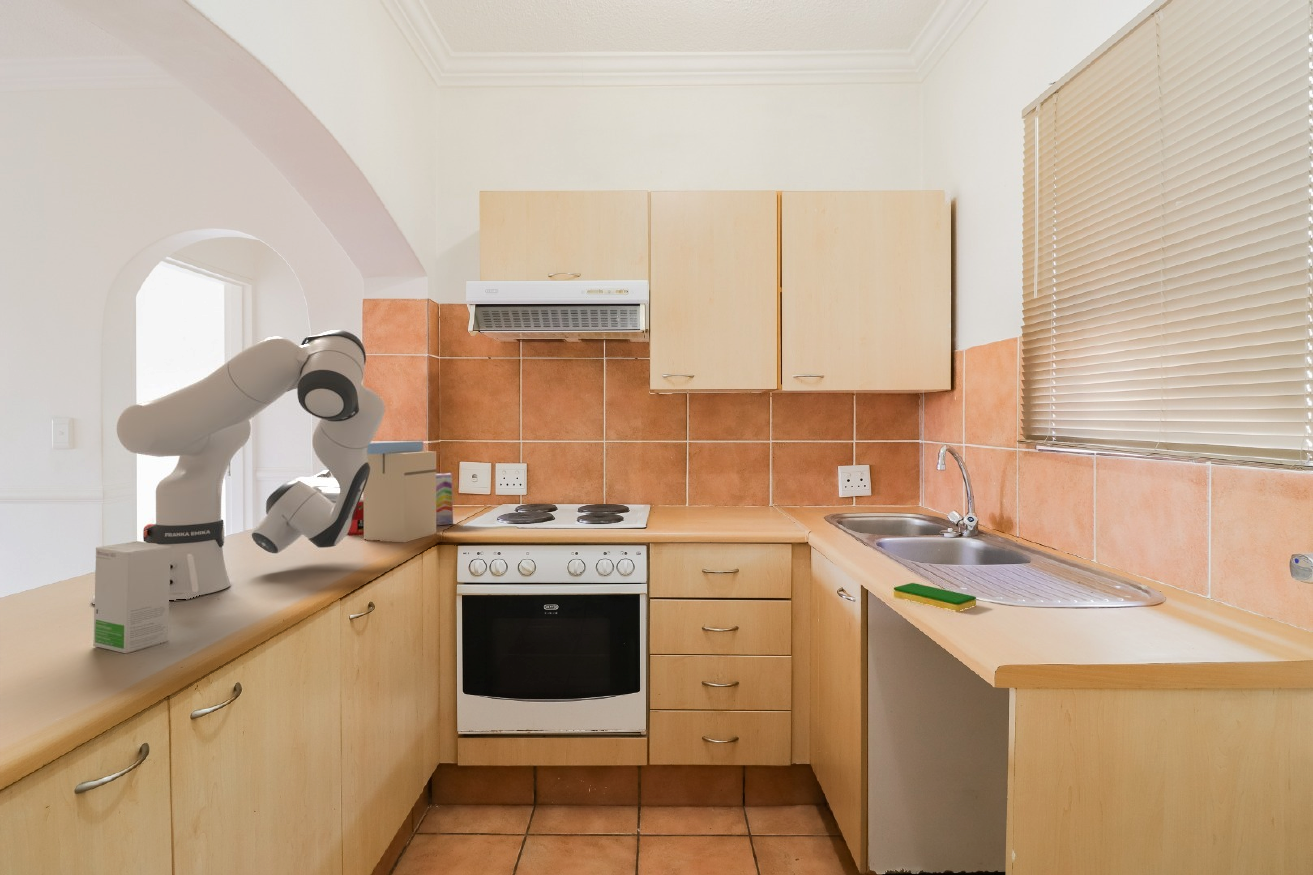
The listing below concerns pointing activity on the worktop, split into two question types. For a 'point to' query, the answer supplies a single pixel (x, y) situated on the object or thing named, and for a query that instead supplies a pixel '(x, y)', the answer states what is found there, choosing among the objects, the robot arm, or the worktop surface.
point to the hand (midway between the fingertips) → (342, 472)
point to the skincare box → (131, 596)
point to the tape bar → (394, 447)
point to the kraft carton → (400, 496)
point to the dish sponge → (934, 596)
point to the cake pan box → (444, 499)
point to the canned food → (358, 520)
